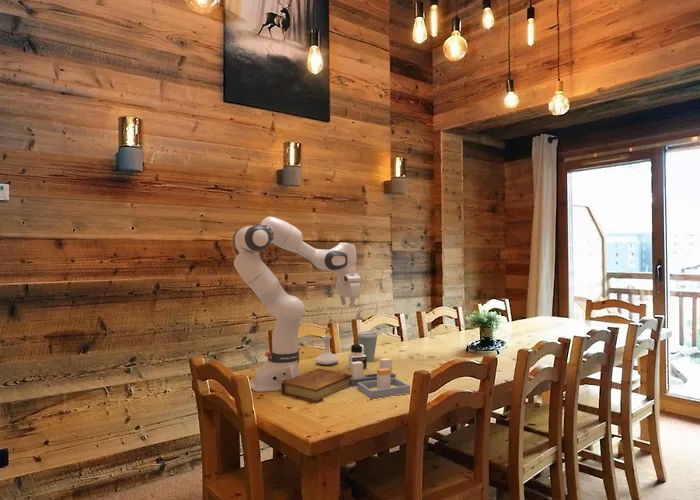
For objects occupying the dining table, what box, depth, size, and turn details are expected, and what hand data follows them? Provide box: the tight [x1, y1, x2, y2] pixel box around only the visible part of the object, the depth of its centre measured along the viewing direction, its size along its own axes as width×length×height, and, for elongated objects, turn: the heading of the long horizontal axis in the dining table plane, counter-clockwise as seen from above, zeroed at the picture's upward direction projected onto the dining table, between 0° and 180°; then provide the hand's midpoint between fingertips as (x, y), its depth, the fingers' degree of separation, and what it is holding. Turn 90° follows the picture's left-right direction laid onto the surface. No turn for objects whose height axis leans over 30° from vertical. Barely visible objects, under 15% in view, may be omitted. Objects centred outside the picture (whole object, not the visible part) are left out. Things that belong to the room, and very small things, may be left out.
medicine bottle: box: [348, 343, 368, 371], centre depth 234 cm, size 7×7×12 cm
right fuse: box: [379, 357, 393, 374], centre depth 213 cm, size 4×3×9 cm, turn 113°
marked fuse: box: [376, 368, 391, 390], centre depth 198 cm, size 4×3×9 cm, turn 113°
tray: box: [356, 377, 411, 401], centre depth 198 cm, size 18×13×4 cm
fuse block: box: [349, 372, 397, 388], centre depth 211 cm, size 22×7×4 cm, turn 113°
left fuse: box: [350, 361, 364, 379], centre depth 208 cm, size 4×3×9 cm, turn 112°
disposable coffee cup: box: [356, 330, 379, 362], centre depth 251 cm, size 11×11×15 cm
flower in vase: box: [315, 313, 339, 366], centre depth 245 cm, size 13×11×25 cm
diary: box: [280, 368, 352, 404], centre depth 201 cm, size 23×19×6 cm
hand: (347, 306), depth 229 cm, fingers open, 8 cm apart
